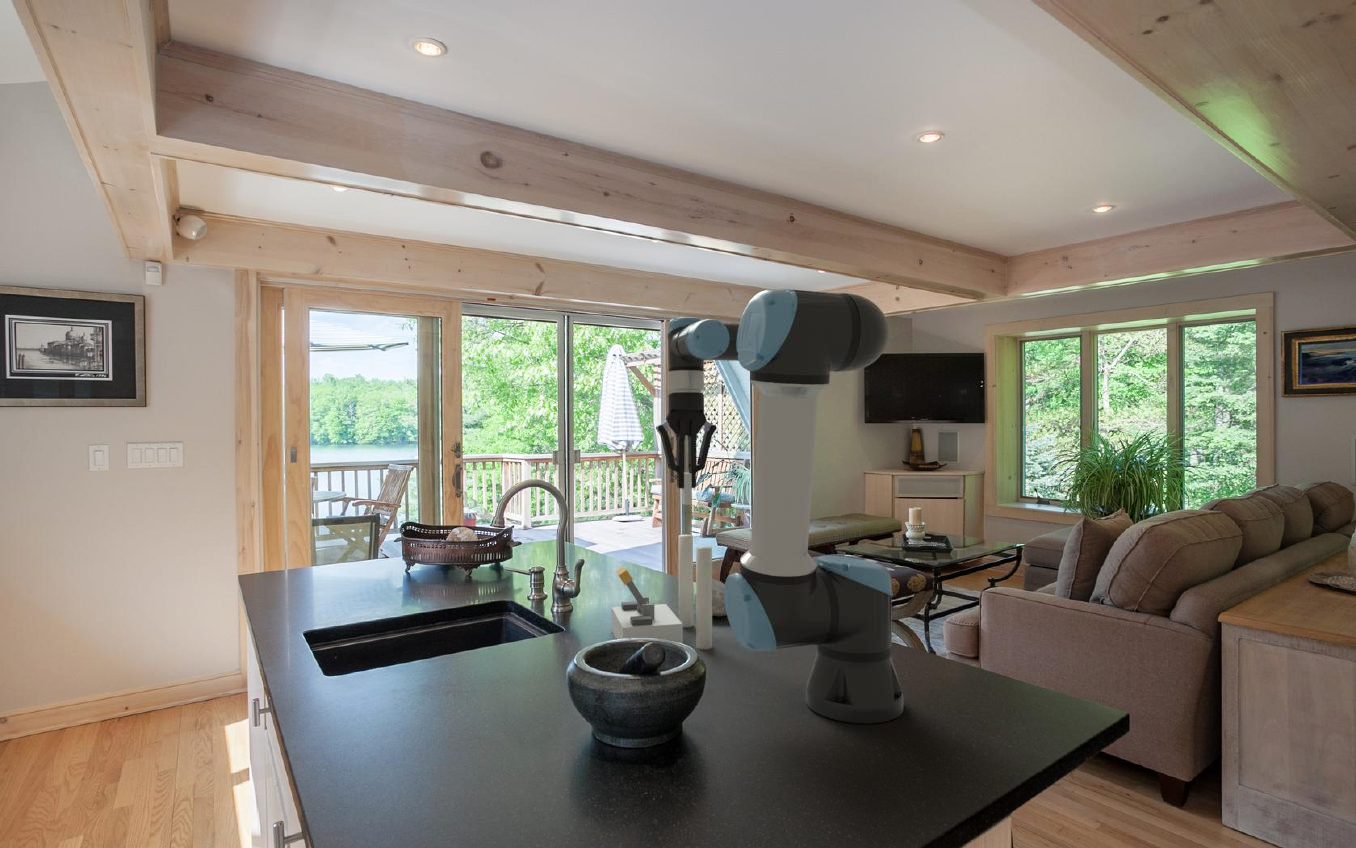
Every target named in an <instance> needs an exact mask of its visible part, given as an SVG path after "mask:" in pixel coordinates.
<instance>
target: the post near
mask: <svg viewBox="0 0 1356 848" xmlns="http://www.w3.org/2000/svg"><path fill="white" fill-rule="evenodd" d="M712 579H713V547H712V546H709V545H707V546H706V545H704V546H703V545H699V546H696V547H695V595H696V610H695V647H696V649H698V650H710V649H712V648H713V616H712Z"/></svg>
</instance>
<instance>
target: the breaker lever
mask: <svg viewBox="0 0 1356 848" xmlns="http://www.w3.org/2000/svg"><path fill="white" fill-rule="evenodd" d="M615 572H616V574H617V576H618V578H619V579H620V580H621V582H622V583H623V585H625V586H626V587H627V588H628V590H629V592H631V595H632V596H633V597H634V599H635V601H637V602H638V603H639V607H640V609H641V611H642V604H648V602H646V601H645V600H644V598H643V597H644V596H643V595H642V594H641V592H640V591H639V589H638V588H637V586H636V584H635V583H634V579H633V577H632V575H631V574H630V572H629V571H628V570H627V569H626V567H625V566H624V565H623V566H622V567H620V568H619V569H617V570H616V571H615Z"/></svg>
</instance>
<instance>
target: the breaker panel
mask: <svg viewBox="0 0 1356 848" xmlns="http://www.w3.org/2000/svg"><path fill="white" fill-rule="evenodd" d="M642 597H643V598H644V600H645V601H646V602H648V604H642V611H641V609H640V607H639V603H638V602H637V600H633V601H621V602H620V604H621V606H613V607H611V631H612V633H613V635H614V638H615V639H616V638H630V637H648V638H658V639H666V640H670V641H679V642H682V643H683V641H684V638H683V635H684V634H683V633H684V631H683V629H684V628H683V624H682V622H681V621H680V620H679V617H677V615H676V614H675V613H674V611H672V609H671V608H670V607H669V606H668V605H667V604H666V603H663V604H660V603H659V604H655V603H650V597H649V596H642Z"/></svg>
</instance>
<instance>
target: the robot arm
mask: <svg viewBox="0 0 1356 848" xmlns="http://www.w3.org/2000/svg"><path fill="white" fill-rule="evenodd" d="M888 323H889V322H888V320H887V317H886V316H885V314H884V311H882V310H881V309H880V308H879V306H878V305H877V304H876V303H874V302H873V301H872V300H870V299H868V298H866V297H864V296H862V295H859V294H854V293H848V292H845V293H843V292H841V293H839V292H838V293H836V292H827V291H816V290H815V291H814V290H813V291H812V290H801V289H791V288H786V289H765V290H762V291H760V292H758V293H757V294H755V295H754V296H753V297H752V298H751V299H750V300H749V302H748V304H747V305H746V307H745V308H744V311H743V313H742V316H741V318H740V321H739V322H737V323H736V322H721V321H719V320H717V319H713V318H707V319H705V318H704V319H701V318H699V317H693V316H690V317H689V316H681V317H674V318H671V319H670V321H668V327H667V328H668V331H667V334H666V335H667V337H666V338H667V347H668V348H667V353H668V354H667V355H668V357H667V358H668V360H667V361H668V364H667V365H668V367H667V369H668V383H667V384H668V387H667V388H668V391H670V393H669V394H667V395H668V396H667V397H668V400H667V401H668V402H667V403H668V407H667V408H668V413H667V415H666V417H665V421H663V422H662V423H661V424H658V425H656V427H655V429H656V432H657V433H658V434H659V436H660V439H661V442H662V448H663V451H664V456H665V459H666V464H667V468H668V469H669V470H671V471H674V472H676V486H677V488H678V489H681V504H682V505H685V506H686V505H688V506H690V505H693V503H692V501H693V500H692V497H693V496H692V492H693V491H692V490H693V489H696V488H697V487H696V486H697V473H698V472H700V471H703V470H704V469H705V467H706V465H707V464H706V463H707V459H708V456H709V455H708V454H709V451H710V447H711V443H712V442H711V441H712V437H713V435H714V434H715V431H716V430H717V428H718V427H717V425H716V424H712V423H710V422H709V421H707V417H706V415H705V395H704V393H702V391H704V390H705V375H704V373H705V372H704V371H705V361H731V362H732V361H733V362H736V361H737V362H739V364H740V366H741V367H742V368H743V369H745V370H746V371H748V372H749V374H750V375H749V382H750V384H751V385H752V386H753V387H754V389H756V391H757V393H758V394H759V395H758V407H757V409H758V411H757V427H756V428H757V429H756V446H755V447H756V449H755V463H754V465H755V466H754V467H755V468H754V483H753V501H752V504H753V505H752V519H751V520H752V521H751V537H750V538H751V539H750V548H749V549H748V550H747V551H746V552H744V554H742V555H741V557H740V558H739V559H740V560H739V561H740V562H739V571H738V572H734V573H732V574H729V575H728V576H727V577H726V579H725V582H724V585H725V586H724V600H725V607H726V612H727V615H726V616H727V619H728V622H729V625H730V628H731V630H732V633H733V635H734V636H735V638H736V640H737V641H738V643H739V644H740V645H741V646H742V647H744V648H745V649H746V650H748V651H753V652H756V651H757V652H758V651H761V652H762V651H769V652H775V651H776V650H786V649H792V648H794V649H795V648H802V647H810V646H816V655H815V658H814V661H813V665H812V667H811V671H810V674H809V677H808V680H807V683H806V686H805V704H806V705H807V707H808V708H809V709H811V711H813V712H815V714H816V713H817V715H820V716H823V717H826V718H828V719H831V720H835V721H838V722H846V723H853V724H879V723H885V722H888V721H892V720H895V719H897V718H899V717H901V715H902V714H903V712H904V694H903V690H902V686H901V684H900V681H899V677H898V674H897V671H896V669H895V665H894V662H893V658H892V656H893V654H892V653H893V652H892V650H893V649H892V647H893V645H892V644H893V641H892V638H893V637H892V636H893V635H892V633H893V632H892V628H893V627H892V625H893V624H892V623H893V621H892V620H893V619H892V618H893V617H892V615H893V614H892V613H893V611H892V610H893V609H892V603H893V602H892V601H893V600H892V597H893V596H894V593H893V587H892V585H893V584H892V576H891V573H890V571H889V570H888V568H886V567H885V566H883V565H882V564H879V563H877V562H873V561H869V560H865V559H860V558H852V557H847V556H837V555H822V556H818V557H817V558H816V561H815V559H813V558H812V557H811V555H810V554H809V552H808V551H809V536H810V522H811V521H810V520H811V519H810V518H811V505H812V491H813V490H812V489H813V475H814V474H813V473H814V460H815V459H814V458H815V444H816V432H817V431H816V430H817V429H816V428H817V412H818V400H819V396H820V395H821V393H822V392H824V390H826V389H828V387H829V386H830V377H831V372H835V373H839V372H840V373H841V372H852V371H858V370H861V369H864V368H867V367H868V366H870V365H871V364H873V363H875V362H876V361H877V360H878V359H879V358H880V356H881V355H882V354H883V353H884V351H885V349H886V347H887V345H888V341H889V336H890V335H889V333H890V330H889V324H888ZM669 427H670V429H671V430H672V432H673V434H674V435H675V441H676V443H675V444H676V447H675V448H676V449H675V450H676V451H675V452H676V455H675V457H676V459H675V457H674V452H673V448H672V443H671V440H670V436H669ZM702 428H703V436H702V439H701V444H700V450H699V451H698V452H699V453H698V455H697V441H698V434H699V432H701V430H702ZM686 437H687V451H688V452H687V458H688V459H687V461H688V462H687V464H688V465H687V469H688V472H685V469H686V466H685V465H686V464H685V459H686V457H685V452H686V451H685V445H686V443H685V442H686ZM697 456H698V457H697Z"/></svg>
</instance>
